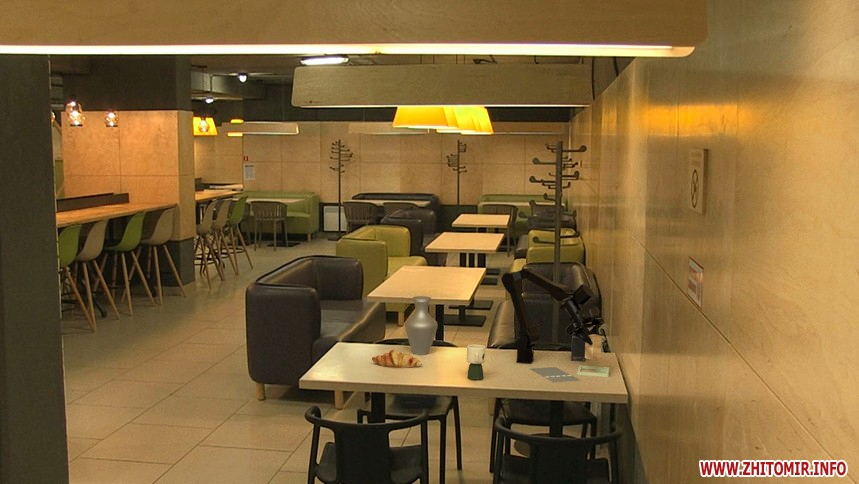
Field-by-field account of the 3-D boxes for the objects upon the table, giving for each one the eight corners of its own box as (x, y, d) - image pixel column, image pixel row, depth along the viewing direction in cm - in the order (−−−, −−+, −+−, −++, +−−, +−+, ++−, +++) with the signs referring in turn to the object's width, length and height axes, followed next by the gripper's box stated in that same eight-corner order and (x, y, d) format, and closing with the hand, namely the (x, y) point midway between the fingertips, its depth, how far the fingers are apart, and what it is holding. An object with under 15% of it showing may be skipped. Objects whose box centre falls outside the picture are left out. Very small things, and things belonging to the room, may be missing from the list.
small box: (585, 361, 362) (586, 337, 362) (570, 360, 364) (571, 336, 363) (586, 356, 373) (587, 333, 372) (571, 355, 374) (572, 332, 373)
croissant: (422, 374, 349) (424, 355, 352) (420, 367, 340) (422, 348, 343) (372, 370, 352) (375, 351, 355) (368, 364, 343) (371, 345, 346)
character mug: (485, 382, 324) (486, 349, 323) (467, 382, 324) (468, 349, 323) (483, 375, 335) (484, 343, 334) (465, 375, 335) (466, 343, 333)
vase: (436, 357, 364) (438, 300, 362) (403, 356, 364) (404, 299, 362) (437, 350, 378) (438, 295, 376) (405, 349, 378) (406, 294, 376)
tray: (577, 378, 334) (577, 371, 334) (578, 371, 346) (579, 365, 345) (608, 380, 331) (608, 374, 331) (608, 373, 343) (609, 367, 343)
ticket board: (528, 372, 342) (528, 368, 342) (555, 370, 345) (555, 366, 345) (553, 386, 321) (553, 381, 321) (581, 384, 325) (581, 380, 325)
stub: (584, 357, 337) (585, 335, 336) (592, 356, 340) (593, 334, 339) (592, 359, 334) (593, 337, 333) (600, 358, 337) (601, 335, 336)
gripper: (572, 302, 332) (593, 334, 325) (602, 298, 344) (622, 329, 337) (556, 318, 339) (576, 350, 331) (586, 314, 351) (606, 345, 343)
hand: (596, 343), depth 335 cm, fingers closed on stub, 5 cm apart
